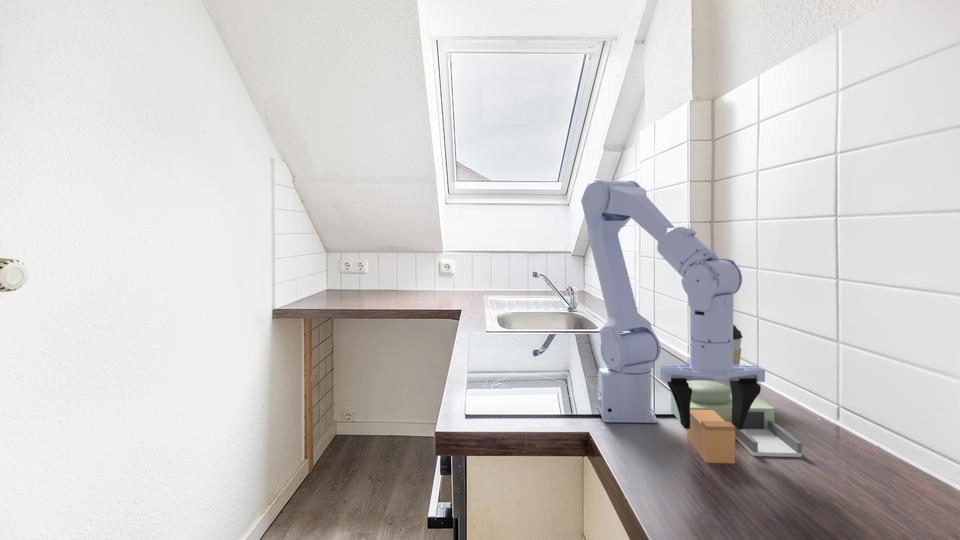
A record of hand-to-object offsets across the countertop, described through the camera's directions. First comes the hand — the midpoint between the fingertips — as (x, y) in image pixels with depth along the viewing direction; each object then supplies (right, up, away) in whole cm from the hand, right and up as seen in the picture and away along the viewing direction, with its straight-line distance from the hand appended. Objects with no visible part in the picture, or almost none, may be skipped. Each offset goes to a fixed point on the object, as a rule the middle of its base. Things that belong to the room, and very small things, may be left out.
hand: (711, 426), depth 71 cm
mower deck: (+7, -3, +7) cm, 10 cm away
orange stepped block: (0, -4, +1) cm, 4 cm away
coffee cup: (+14, -2, +25) cm, 29 cm away
